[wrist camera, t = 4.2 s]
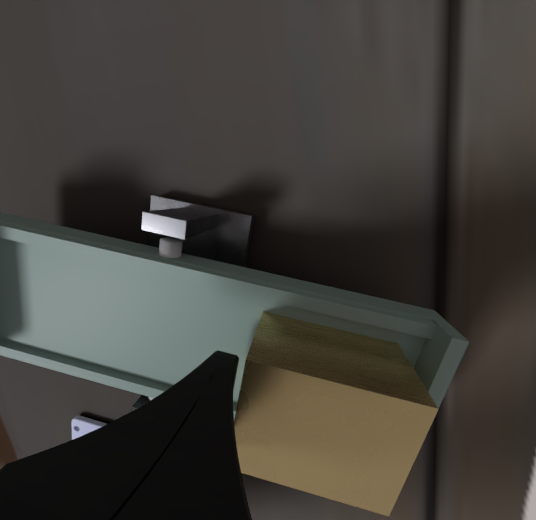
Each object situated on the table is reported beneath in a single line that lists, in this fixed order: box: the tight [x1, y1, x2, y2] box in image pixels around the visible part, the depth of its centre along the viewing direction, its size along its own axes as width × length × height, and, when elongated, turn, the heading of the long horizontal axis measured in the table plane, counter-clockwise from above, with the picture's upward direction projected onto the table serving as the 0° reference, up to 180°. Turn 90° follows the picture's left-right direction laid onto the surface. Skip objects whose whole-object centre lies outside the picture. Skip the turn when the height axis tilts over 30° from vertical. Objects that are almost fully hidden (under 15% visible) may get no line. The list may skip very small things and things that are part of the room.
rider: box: [234, 312, 438, 516], centre depth 10 cm, size 5×6×4 cm
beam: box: [0, 212, 469, 419], centre depth 12 cm, size 9×25×4 cm, turn 79°
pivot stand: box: [132, 195, 255, 411], centre depth 15 cm, size 12×6×5 cm, turn 169°
